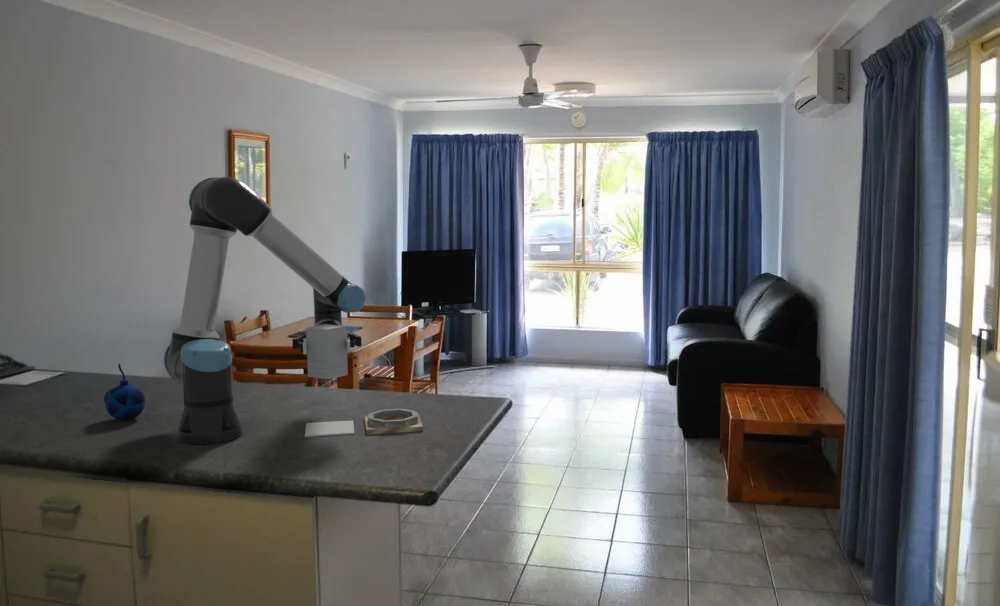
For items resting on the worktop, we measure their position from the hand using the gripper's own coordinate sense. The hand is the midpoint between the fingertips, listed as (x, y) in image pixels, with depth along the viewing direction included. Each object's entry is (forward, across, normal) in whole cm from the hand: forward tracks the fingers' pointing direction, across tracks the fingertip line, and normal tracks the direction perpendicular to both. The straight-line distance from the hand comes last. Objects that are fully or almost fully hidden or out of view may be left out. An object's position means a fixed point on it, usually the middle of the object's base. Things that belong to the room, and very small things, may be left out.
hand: (326, 347), depth 211 cm
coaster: (-4, 0, -22) cm, 22 cm away
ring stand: (-4, -16, -22) cm, 27 cm away
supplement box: (-4, 0, -8) cm, 9 cm away
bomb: (-26, +54, -22) cm, 64 cm away
